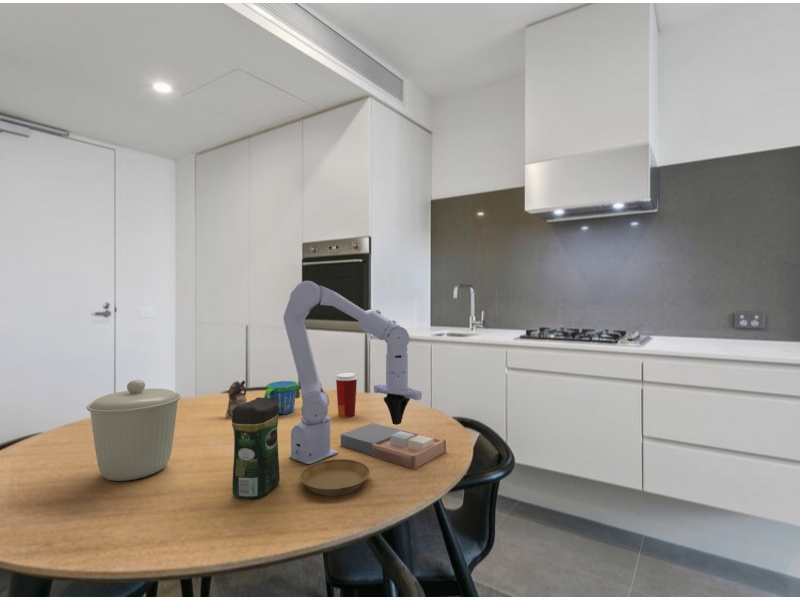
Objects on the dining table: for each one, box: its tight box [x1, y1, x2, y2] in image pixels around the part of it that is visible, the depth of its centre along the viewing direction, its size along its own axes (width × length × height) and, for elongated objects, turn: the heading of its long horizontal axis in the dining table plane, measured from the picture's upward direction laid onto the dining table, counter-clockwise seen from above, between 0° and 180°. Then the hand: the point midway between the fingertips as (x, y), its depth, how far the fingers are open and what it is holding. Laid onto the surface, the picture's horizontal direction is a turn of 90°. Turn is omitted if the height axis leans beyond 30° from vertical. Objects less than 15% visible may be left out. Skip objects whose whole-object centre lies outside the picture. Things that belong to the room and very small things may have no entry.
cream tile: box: [408, 435, 433, 451], centre depth 100 cm, size 4×4×2 cm
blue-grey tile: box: [390, 431, 415, 448], centre depth 103 cm, size 4×4×2 cm
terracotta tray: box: [371, 429, 447, 470], centre depth 102 cm, size 14×13×3 cm
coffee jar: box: [231, 396, 281, 500], centre depth 83 cm, size 10×8×19 cm
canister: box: [85, 379, 182, 482], centre depth 92 cm, size 18×18×21 cm
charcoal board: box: [340, 422, 405, 456], centre depth 110 cm, size 13×12×3 cm
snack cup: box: [263, 380, 301, 415], centre depth 142 cm, size 16×10×10 cm
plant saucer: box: [299, 458, 371, 497], centre depth 86 cm, size 15×15×3 cm
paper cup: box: [334, 372, 359, 419], centre depth 138 cm, size 8×8×14 cm
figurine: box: [225, 380, 248, 419], centre depth 138 cm, size 7×7×12 cm
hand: (396, 423), depth 105 cm, fingers closed
